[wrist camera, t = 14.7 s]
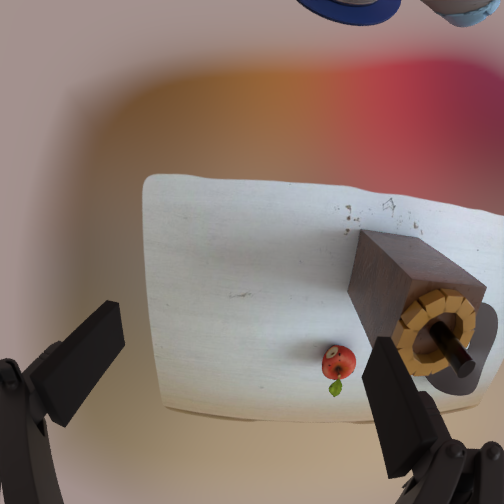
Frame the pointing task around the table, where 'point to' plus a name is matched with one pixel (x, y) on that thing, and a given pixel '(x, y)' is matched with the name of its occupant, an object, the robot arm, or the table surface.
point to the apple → (338, 366)
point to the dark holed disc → (478, 350)
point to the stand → (404, 284)
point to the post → (452, 349)
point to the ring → (420, 315)
